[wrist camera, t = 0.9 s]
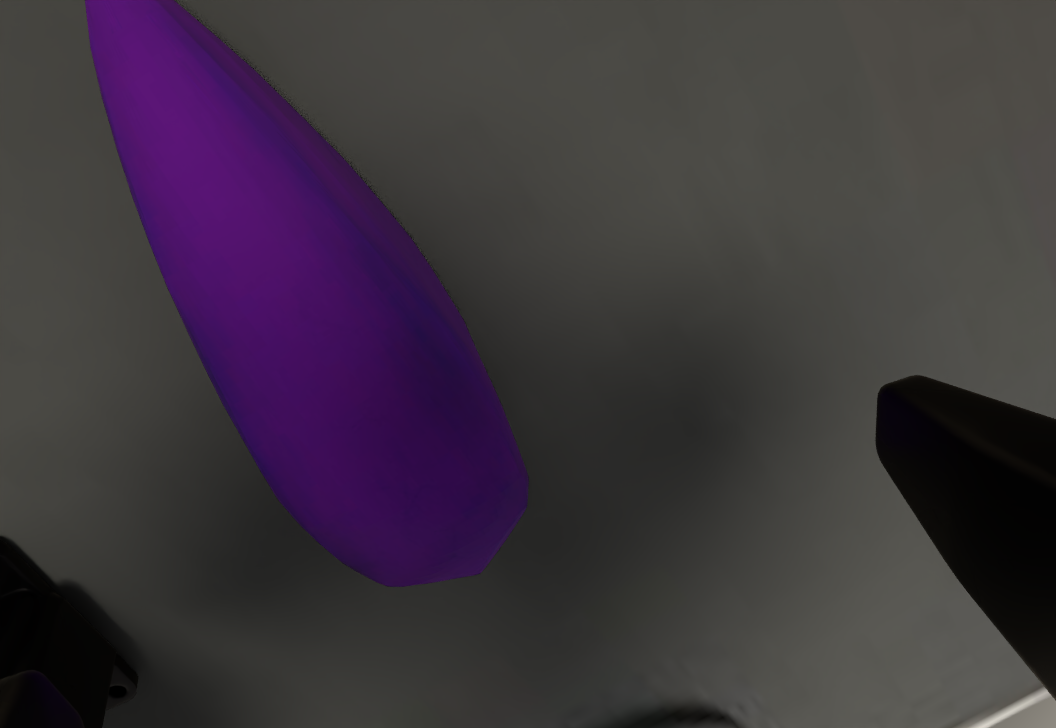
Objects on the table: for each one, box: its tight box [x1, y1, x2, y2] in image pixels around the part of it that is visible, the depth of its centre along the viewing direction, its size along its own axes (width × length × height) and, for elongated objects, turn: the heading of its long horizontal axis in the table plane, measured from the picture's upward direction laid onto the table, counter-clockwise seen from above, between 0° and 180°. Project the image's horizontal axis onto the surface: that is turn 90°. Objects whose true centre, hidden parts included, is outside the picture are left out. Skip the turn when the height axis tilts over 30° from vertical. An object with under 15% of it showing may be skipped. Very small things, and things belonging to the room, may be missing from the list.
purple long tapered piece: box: [85, 0, 529, 587], centre depth 17 cm, size 5×5×15 cm
